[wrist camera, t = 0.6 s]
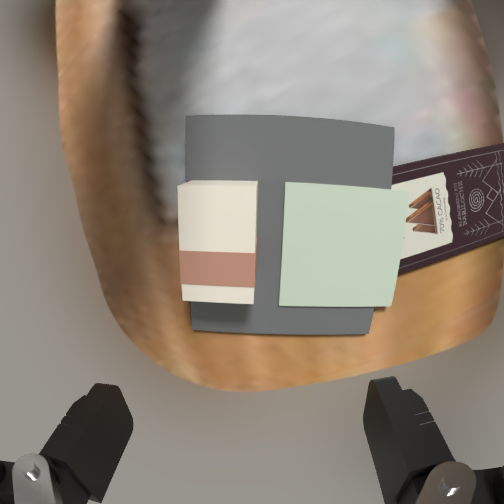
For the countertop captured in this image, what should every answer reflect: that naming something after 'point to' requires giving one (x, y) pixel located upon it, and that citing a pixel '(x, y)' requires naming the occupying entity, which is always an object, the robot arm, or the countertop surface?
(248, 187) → the card box
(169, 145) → the countertop surface
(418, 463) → the robot arm
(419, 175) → the chocolate bar
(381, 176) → the mat
